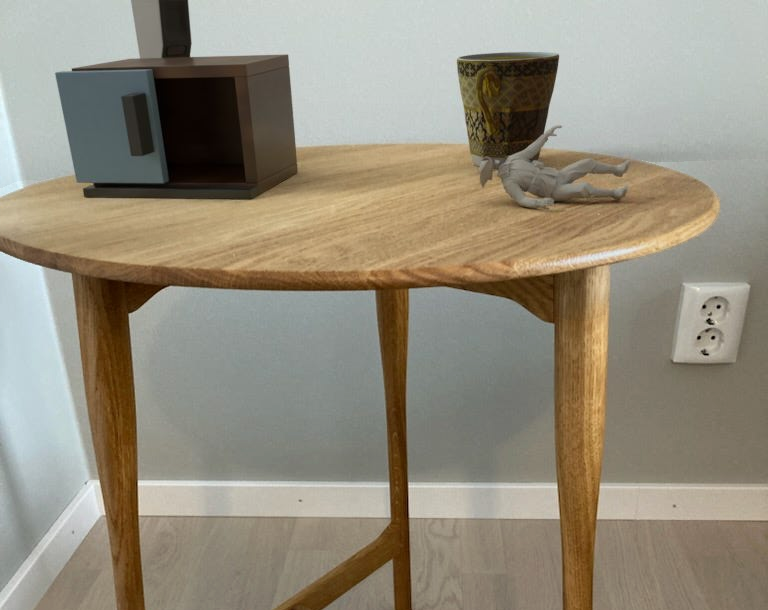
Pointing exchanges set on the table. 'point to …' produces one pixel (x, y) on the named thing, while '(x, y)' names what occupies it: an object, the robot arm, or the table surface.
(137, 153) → the sliding door
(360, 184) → the table surface
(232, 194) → the cabinet
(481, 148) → the ceramic cup
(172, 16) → the vintage mobile phone
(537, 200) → the soldier figure
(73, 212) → the table surface
